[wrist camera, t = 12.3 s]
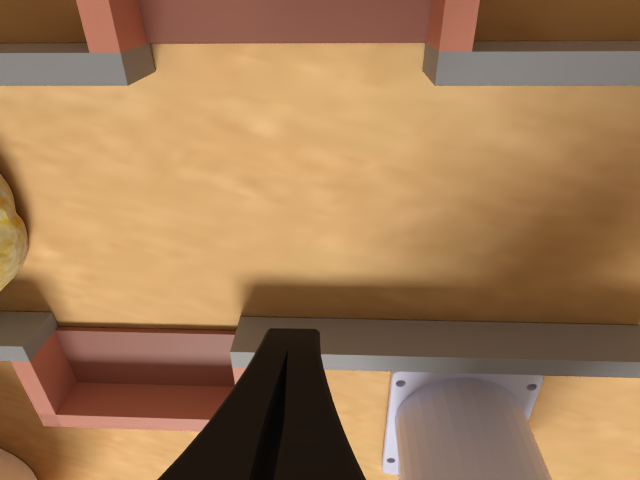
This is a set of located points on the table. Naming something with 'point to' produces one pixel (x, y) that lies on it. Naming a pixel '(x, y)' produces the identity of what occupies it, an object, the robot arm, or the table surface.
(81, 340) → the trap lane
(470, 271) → the table surface
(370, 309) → the table surface
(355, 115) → the table surface
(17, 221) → the bread roll
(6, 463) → the bowl
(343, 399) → the table surface
